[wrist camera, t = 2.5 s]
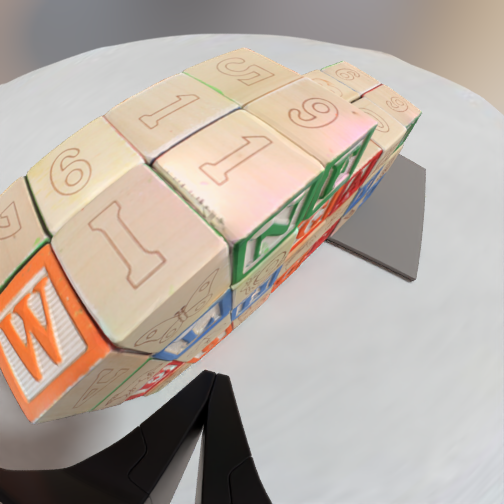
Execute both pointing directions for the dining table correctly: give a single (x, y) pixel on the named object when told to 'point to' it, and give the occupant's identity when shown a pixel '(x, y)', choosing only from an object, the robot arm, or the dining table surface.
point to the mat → (390, 220)
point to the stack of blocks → (179, 222)
